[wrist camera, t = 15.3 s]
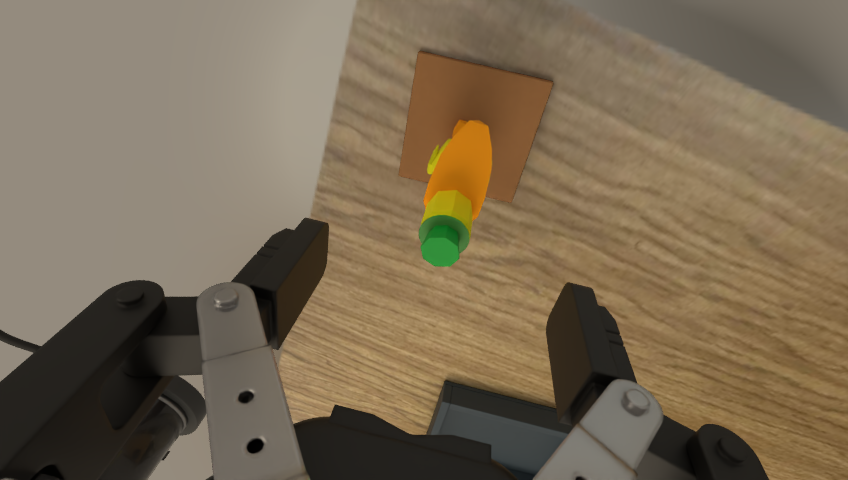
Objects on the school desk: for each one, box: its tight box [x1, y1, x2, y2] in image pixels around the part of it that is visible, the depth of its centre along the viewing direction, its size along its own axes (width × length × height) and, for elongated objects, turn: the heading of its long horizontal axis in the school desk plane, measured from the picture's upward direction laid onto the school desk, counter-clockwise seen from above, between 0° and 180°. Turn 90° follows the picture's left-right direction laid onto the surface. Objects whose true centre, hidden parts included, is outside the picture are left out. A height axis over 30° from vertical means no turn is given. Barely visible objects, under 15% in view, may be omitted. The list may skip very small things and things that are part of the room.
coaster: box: [399, 51, 553, 203], centre depth 25 cm, size 8×8×1 cm
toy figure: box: [419, 120, 492, 266], centre depth 20 cm, size 7×4×12 cm, turn 166°
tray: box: [426, 381, 573, 480], centre depth 42 cm, size 15×13×2 cm
